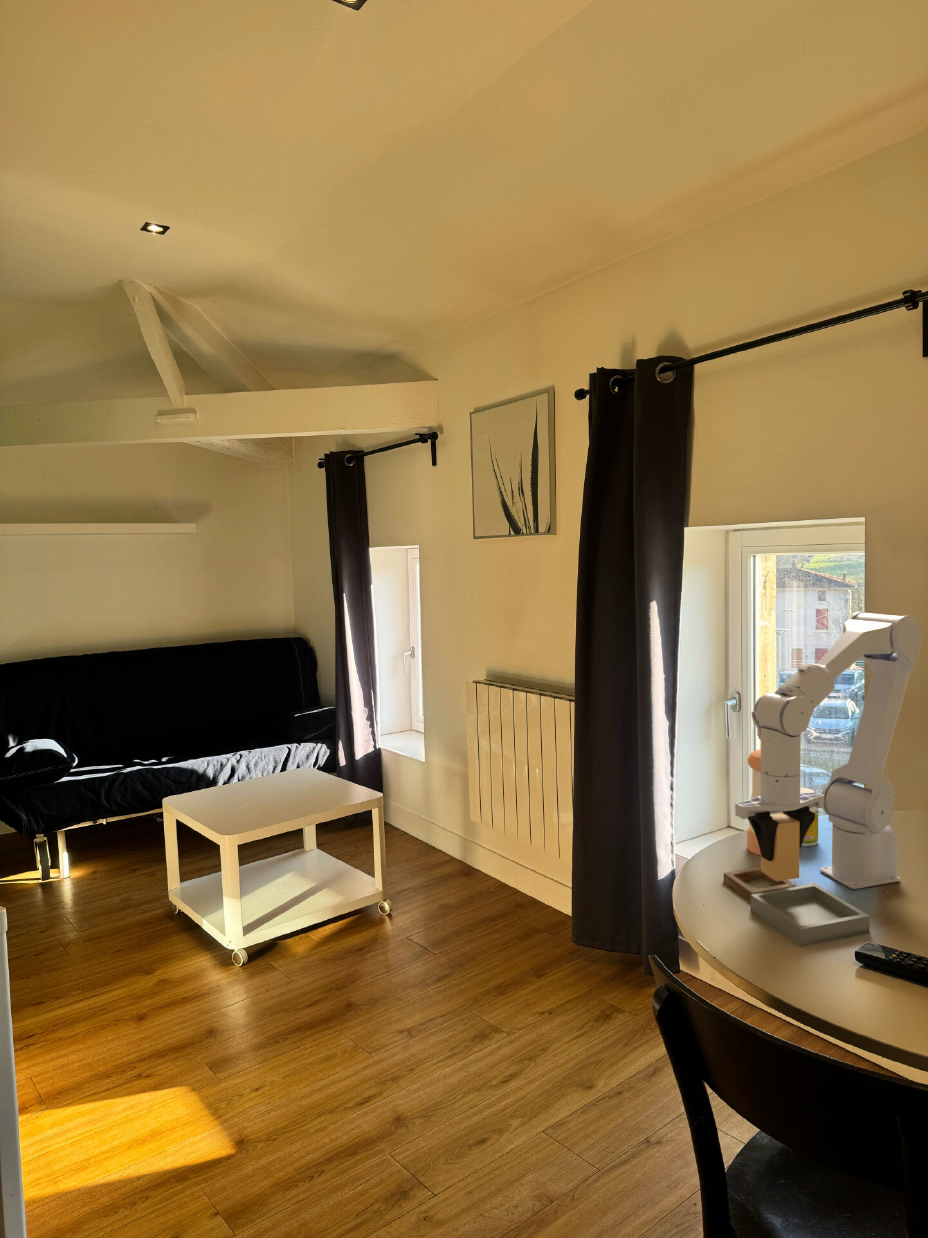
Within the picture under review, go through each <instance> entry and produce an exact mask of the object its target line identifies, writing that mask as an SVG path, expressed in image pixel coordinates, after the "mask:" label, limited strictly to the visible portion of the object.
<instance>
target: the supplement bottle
mask: <svg viewBox="0 0 928 1238" xmlns="http://www.w3.org/2000/svg"><path fill="white" fill-rule="evenodd" d="M812 792H815V790H813V789H811V788H808V787H801V786H800V793H812ZM810 811H811V812H813V813H815V820H814V822H813V823H812V824H811V826H810V827H809V829H808V831H807V833H806V835H805V837H804V840H803V843H802V846H801V847H812V846H816V845H817V844H818V843H819V808H817V807H812V808H810Z"/></svg>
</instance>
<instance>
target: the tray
mask: <svg viewBox="0 0 928 1238" xmlns="http://www.w3.org/2000/svg"><path fill="white" fill-rule="evenodd" d="M750 911H752V912H753V913H754V914H755V915H757V916H758V917H760V918H761V919H762V920H764V921H765V922H767V923H768V924H769V925H771V927H773V928H775V929H776V930H777V931H779V932H780V933H782V934H783V935H784V936H785V937H787V938H789V939H790V940H791V941H792V942H794V943H795V944H797V945H798V946H800V947H802V946H803V947H804V946H808V945H813V944H814V945H815V944H818V943H824V942H829V941H833V940H839V939H845V938H848V937H854V936H857V935H863V934H868V933H870V923H871V922H870V921H871V917H870V915H869V914H868V913H865V912H864V911H862V910H861V909H859V908H857V907H855V906H854V905H853V904H851V903H849V902H847V901H845V900H844V899H842V898H840V897H839V896H837V895H836V894H834V893H832V892H831V891H829V890H827V889H825V888H824V887H822V886H820V885H819V884H817V883H808V884H804V885H803V884H802V885H798V886H797V885H796V887H791V888H785V889H780V890H774V891H768V892H763V893H757V894H751V901H750Z"/></svg>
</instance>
